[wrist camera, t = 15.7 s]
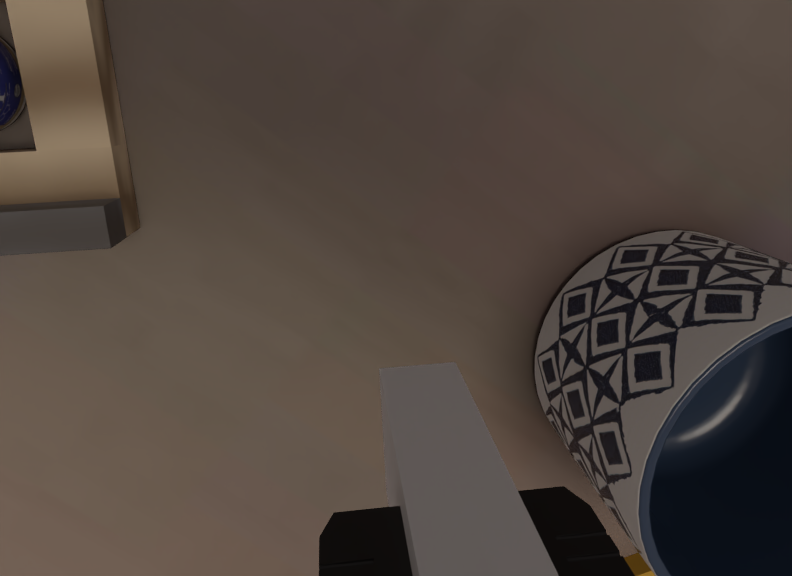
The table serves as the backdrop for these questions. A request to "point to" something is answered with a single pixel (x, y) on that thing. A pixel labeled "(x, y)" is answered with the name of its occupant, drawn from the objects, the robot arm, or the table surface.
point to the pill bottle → (10, 86)
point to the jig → (66, 135)
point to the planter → (680, 398)
